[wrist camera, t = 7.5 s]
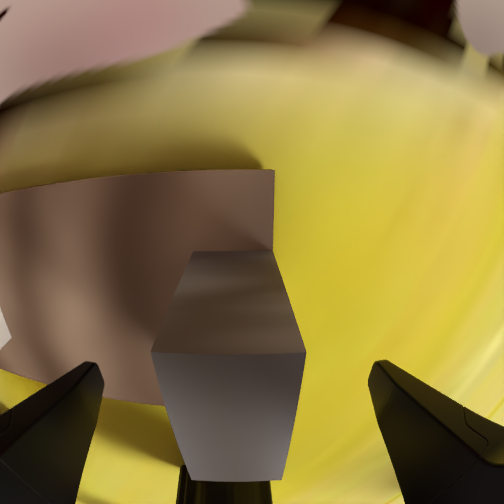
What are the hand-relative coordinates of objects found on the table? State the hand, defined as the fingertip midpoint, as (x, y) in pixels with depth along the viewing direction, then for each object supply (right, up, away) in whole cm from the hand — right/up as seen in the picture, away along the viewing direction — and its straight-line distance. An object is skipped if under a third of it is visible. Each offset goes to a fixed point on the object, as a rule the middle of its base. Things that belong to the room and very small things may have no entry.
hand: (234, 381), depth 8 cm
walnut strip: (-11, +1, +5) cm, 12 cm away
